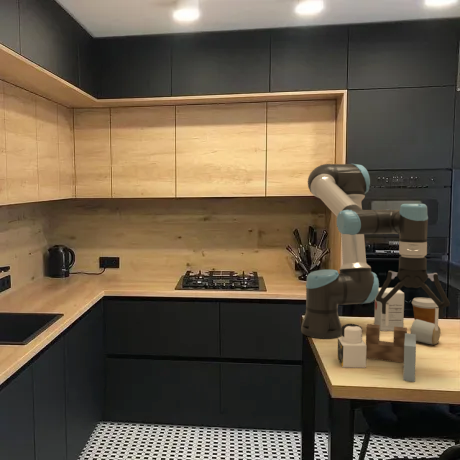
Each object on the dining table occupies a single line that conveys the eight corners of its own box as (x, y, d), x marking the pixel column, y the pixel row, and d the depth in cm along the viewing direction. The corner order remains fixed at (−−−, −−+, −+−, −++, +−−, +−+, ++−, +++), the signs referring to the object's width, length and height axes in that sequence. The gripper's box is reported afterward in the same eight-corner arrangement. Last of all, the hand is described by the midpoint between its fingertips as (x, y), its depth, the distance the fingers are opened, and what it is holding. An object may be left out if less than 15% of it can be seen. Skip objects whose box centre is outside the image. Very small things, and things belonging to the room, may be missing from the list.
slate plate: (403, 380, 126) (404, 345, 125) (404, 365, 137) (405, 333, 136) (414, 381, 125) (415, 346, 124) (414, 366, 136) (415, 334, 135)
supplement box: (373, 324, 180) (374, 287, 179) (396, 324, 179) (397, 287, 178) (379, 331, 171) (380, 292, 170) (403, 331, 170) (404, 292, 169)
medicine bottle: (337, 359, 142) (338, 322, 141) (360, 359, 142) (360, 322, 141) (342, 367, 135) (343, 328, 134) (366, 368, 135) (367, 328, 134)
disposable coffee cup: (405, 328, 174) (406, 298, 173) (427, 326, 176) (428, 296, 175) (421, 336, 165) (422, 303, 164) (444, 334, 167) (445, 302, 166)
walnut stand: (365, 357, 143) (366, 327, 142) (366, 353, 147) (367, 323, 146) (406, 363, 138) (406, 331, 138) (406, 358, 142) (407, 327, 141)
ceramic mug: (433, 347, 152) (434, 325, 151) (409, 342, 157) (410, 321, 157) (443, 340, 160) (444, 319, 159) (420, 336, 165) (421, 315, 165)
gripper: (367, 255, 133) (366, 325, 135) (461, 259, 124) (459, 334, 125) (369, 252, 140) (368, 319, 142) (458, 256, 131) (456, 327, 132)
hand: (411, 327), depth 134 cm, fingers open, 13 cm apart
